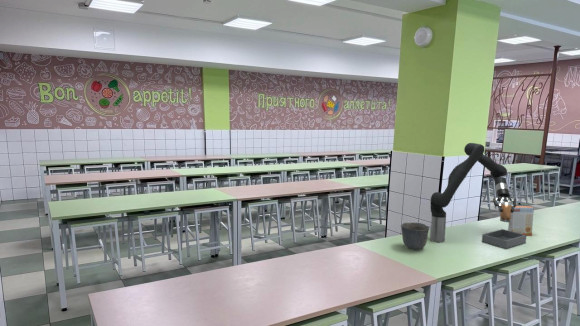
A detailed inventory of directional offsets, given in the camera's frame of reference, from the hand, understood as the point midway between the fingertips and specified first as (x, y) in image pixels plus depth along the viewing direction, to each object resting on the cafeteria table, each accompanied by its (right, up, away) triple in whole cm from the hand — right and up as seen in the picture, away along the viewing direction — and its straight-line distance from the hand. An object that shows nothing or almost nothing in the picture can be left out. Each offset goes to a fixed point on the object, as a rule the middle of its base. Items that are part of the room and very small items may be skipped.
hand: (506, 211), depth 238 cm
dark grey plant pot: (-65, -23, -8) cm, 69 cm away
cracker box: (+23, -20, +22) cm, 37 cm away
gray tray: (0, -22, +4) cm, 22 cm away
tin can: (0, -7, +2) cm, 7 cm away
